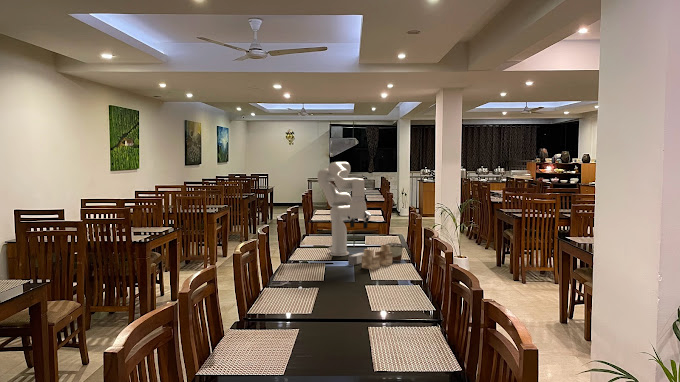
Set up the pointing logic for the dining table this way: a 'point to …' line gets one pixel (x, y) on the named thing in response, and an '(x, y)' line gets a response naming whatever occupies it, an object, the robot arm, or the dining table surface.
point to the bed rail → (355, 258)
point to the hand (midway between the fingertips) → (358, 227)
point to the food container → (396, 251)
